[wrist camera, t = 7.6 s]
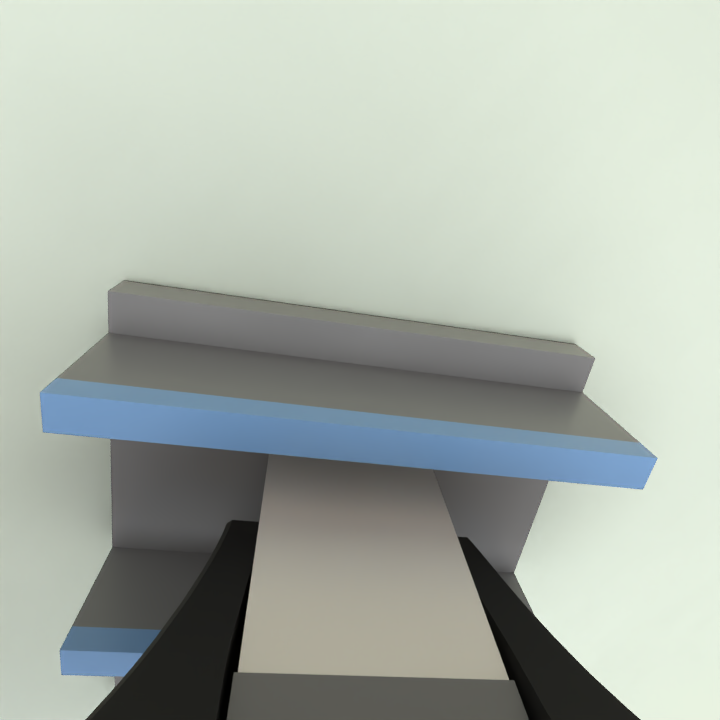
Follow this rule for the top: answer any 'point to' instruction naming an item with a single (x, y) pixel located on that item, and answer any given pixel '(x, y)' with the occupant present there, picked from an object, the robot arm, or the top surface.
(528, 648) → the robot arm
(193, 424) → the grey slotted rack
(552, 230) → the top surface
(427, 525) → the beige block
